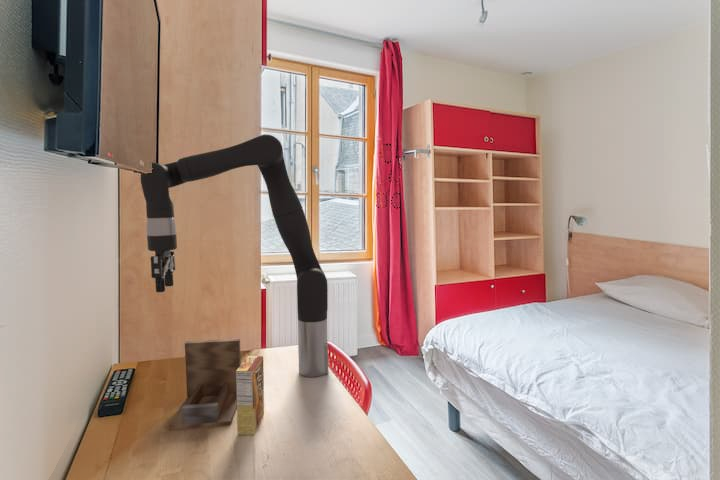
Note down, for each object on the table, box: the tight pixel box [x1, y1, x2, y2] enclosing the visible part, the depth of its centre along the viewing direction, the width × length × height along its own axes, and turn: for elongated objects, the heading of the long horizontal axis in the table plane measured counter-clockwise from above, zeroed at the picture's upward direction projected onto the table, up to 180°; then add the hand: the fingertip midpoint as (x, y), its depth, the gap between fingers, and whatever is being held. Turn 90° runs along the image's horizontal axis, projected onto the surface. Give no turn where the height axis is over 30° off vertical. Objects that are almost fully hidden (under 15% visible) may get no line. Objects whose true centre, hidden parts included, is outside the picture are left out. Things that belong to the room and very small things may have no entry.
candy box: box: [236, 355, 265, 436], centre depth 89 cm, size 9×4×15 cm, turn 0°
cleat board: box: [168, 338, 242, 431], centre depth 96 cm, size 14×15×16 cm
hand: (165, 288), depth 110 cm, fingers open, 8 cm apart
